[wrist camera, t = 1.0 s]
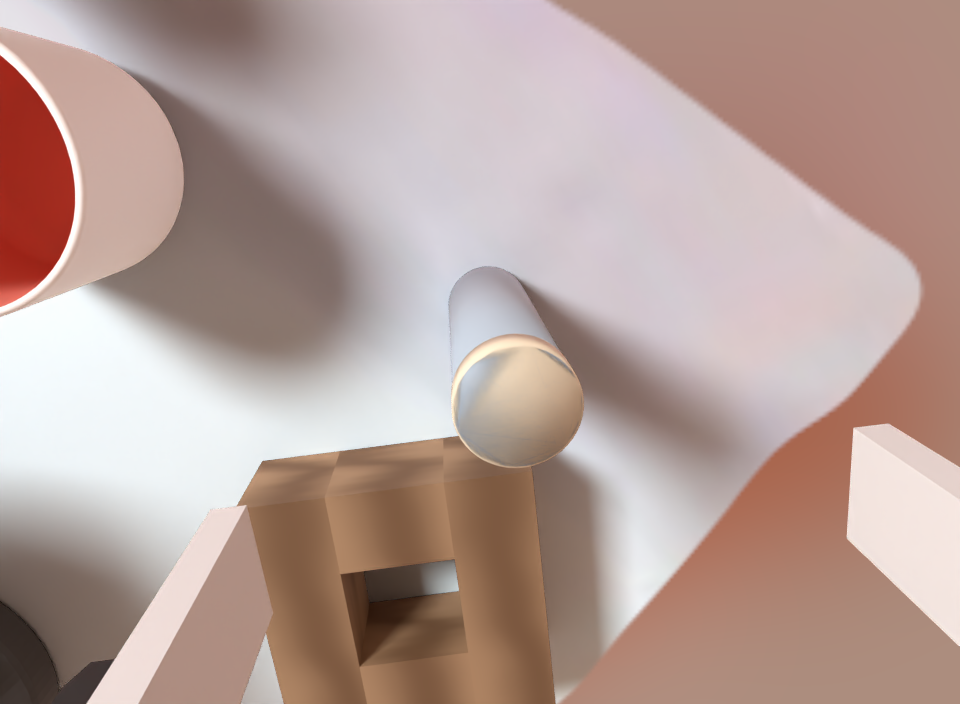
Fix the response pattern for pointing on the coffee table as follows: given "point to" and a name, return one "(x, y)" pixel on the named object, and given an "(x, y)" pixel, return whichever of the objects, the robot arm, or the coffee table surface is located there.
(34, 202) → the cup
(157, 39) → the coffee table surface
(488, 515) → the socket block
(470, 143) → the coffee table surface
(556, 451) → the peg
